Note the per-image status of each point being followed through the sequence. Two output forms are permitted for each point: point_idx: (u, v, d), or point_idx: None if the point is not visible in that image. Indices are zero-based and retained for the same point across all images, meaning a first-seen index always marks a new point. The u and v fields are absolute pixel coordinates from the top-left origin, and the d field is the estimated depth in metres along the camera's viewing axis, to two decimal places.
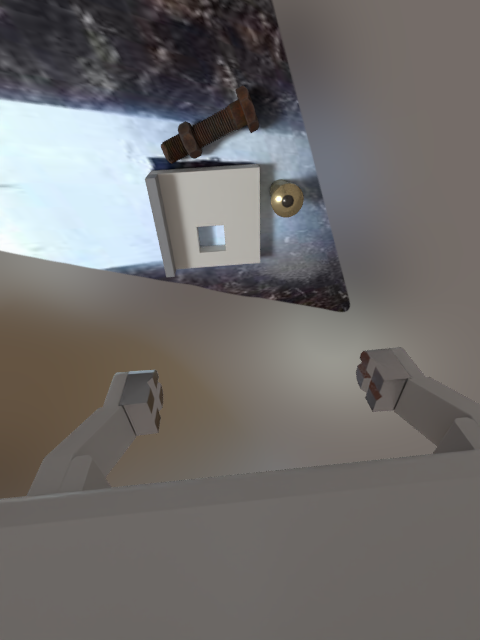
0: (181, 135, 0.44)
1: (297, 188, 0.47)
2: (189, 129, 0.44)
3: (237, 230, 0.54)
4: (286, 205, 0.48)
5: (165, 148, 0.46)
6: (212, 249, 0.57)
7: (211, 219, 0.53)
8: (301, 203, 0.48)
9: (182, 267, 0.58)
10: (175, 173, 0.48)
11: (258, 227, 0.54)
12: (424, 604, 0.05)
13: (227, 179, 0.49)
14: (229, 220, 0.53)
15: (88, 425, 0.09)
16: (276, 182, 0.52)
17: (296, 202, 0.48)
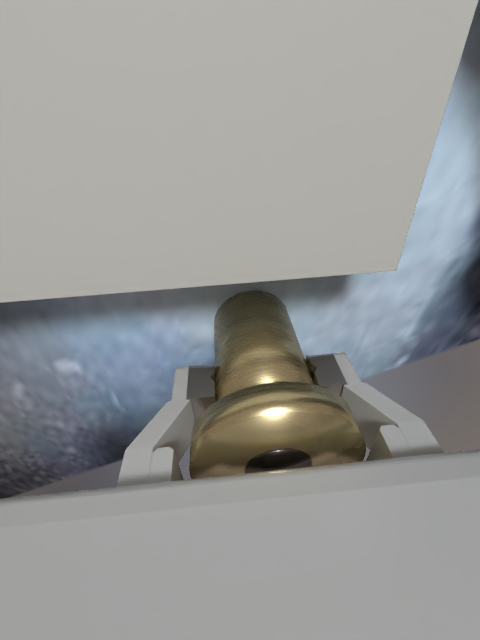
0: None
1: None
2: None
3: (13, 144, 0.07)
4: (256, 468, 0.09)
5: None
6: None
7: None
8: None
9: None
10: None
11: (85, 288, 0.09)
12: (424, 604, 0.05)
13: (395, 58, 0.06)
14: (76, 64, 0.06)
15: (161, 418, 0.09)
16: (290, 321, 0.13)
17: None
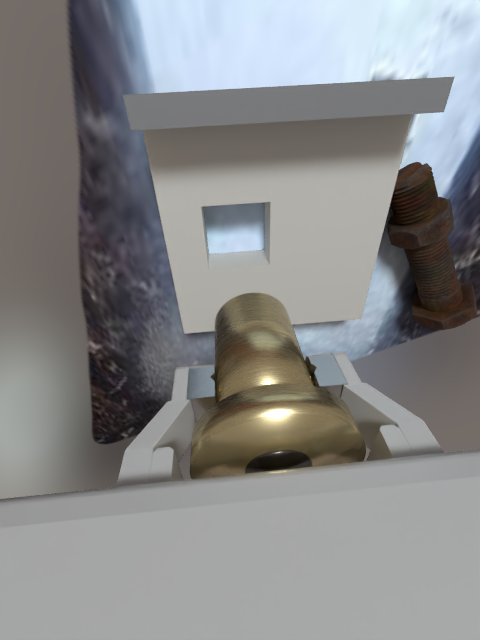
0: (449, 215, 0.22)
1: None
2: None
3: (255, 290, 0.26)
4: (256, 469, 0.09)
5: (425, 177, 0.21)
6: (205, 233, 0.24)
7: (283, 238, 0.23)
8: None
9: (150, 149, 0.19)
10: (398, 160, 0.21)
11: None
12: (424, 604, 0.05)
13: (356, 270, 0.25)
14: (277, 275, 0.25)
15: (161, 418, 0.09)
16: (290, 322, 0.13)
17: None
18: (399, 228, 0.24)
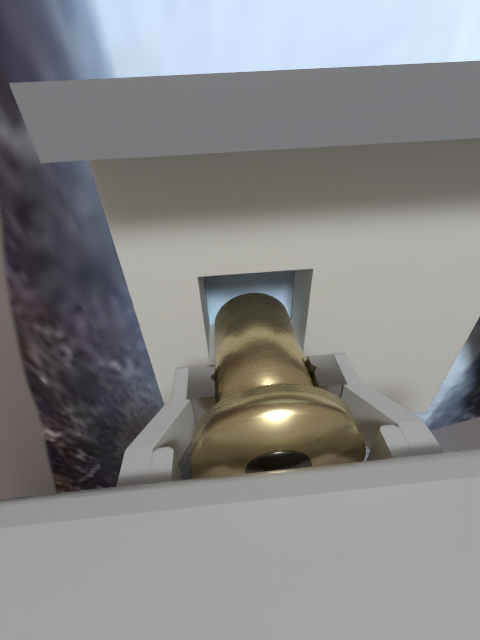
0: None
1: None
2: None
3: None
4: (256, 470, 0.09)
5: None
6: (204, 308, 0.15)
7: (328, 318, 0.15)
8: None
9: (104, 188, 0.10)
10: None
11: None
12: (423, 603, 0.05)
13: (432, 357, 0.17)
14: None
15: (161, 418, 0.09)
16: (290, 322, 0.13)
17: None
18: None
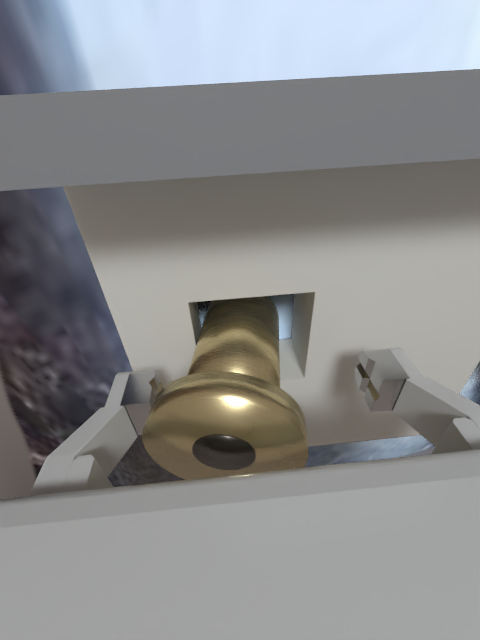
0: None
1: None
2: None
3: None
4: (202, 450, 0.09)
5: None
6: (197, 332, 0.14)
7: (332, 342, 0.13)
8: None
9: (80, 209, 0.09)
10: None
11: None
12: (424, 602, 0.05)
13: (442, 379, 0.16)
14: (316, 390, 0.15)
15: (90, 425, 0.09)
16: (274, 319, 0.13)
17: (217, 475, 0.10)
18: None
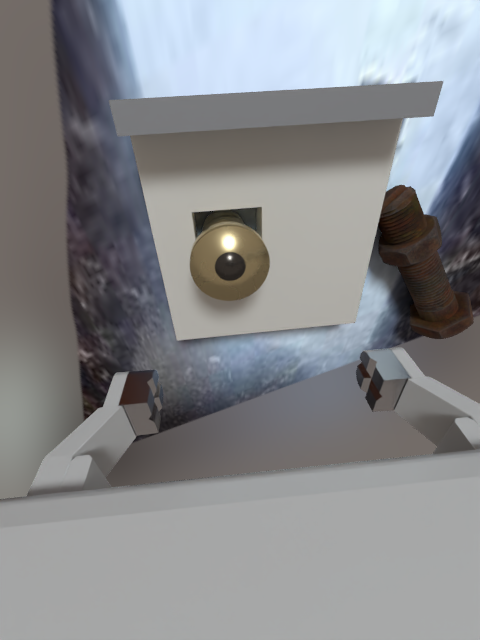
0: (436, 233, 0.23)
1: (259, 283, 0.20)
2: (440, 244, 0.24)
3: (248, 296, 0.26)
4: (220, 265, 0.19)
5: (409, 200, 0.22)
6: None
7: (276, 243, 0.23)
8: (226, 297, 0.21)
9: (138, 155, 0.19)
10: (389, 164, 0.20)
11: (252, 330, 0.28)
12: (424, 603, 0.05)
13: (349, 274, 0.25)
14: (270, 280, 0.25)
15: (88, 425, 0.09)
16: (243, 223, 0.24)
17: (227, 287, 0.20)
18: (389, 247, 0.25)
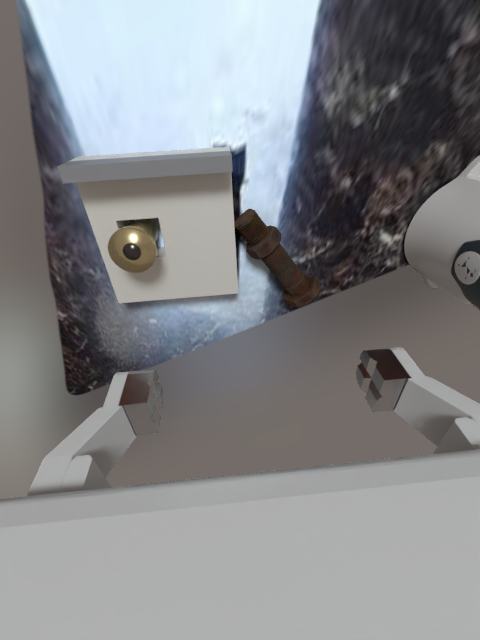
0: (270, 238, 0.37)
1: (152, 260, 0.34)
2: (277, 245, 0.38)
3: (161, 273, 0.40)
4: (125, 251, 0.33)
5: (251, 219, 0.37)
6: None
7: (171, 239, 0.37)
8: (135, 270, 0.35)
9: (80, 189, 0.33)
10: (231, 193, 0.35)
11: (168, 297, 0.42)
12: (424, 602, 0.05)
13: (225, 260, 0.39)
14: (173, 263, 0.39)
15: (88, 425, 0.09)
16: (152, 225, 0.38)
17: (134, 264, 0.34)
18: (249, 247, 0.39)
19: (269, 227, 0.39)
